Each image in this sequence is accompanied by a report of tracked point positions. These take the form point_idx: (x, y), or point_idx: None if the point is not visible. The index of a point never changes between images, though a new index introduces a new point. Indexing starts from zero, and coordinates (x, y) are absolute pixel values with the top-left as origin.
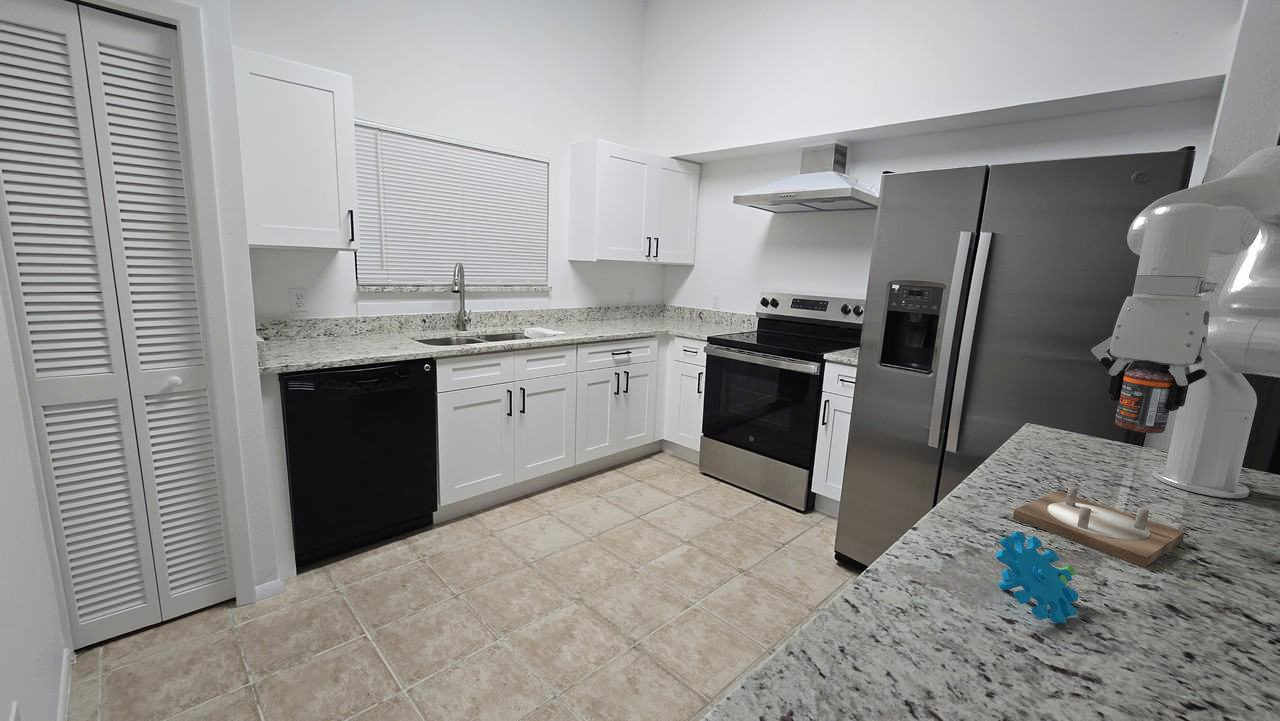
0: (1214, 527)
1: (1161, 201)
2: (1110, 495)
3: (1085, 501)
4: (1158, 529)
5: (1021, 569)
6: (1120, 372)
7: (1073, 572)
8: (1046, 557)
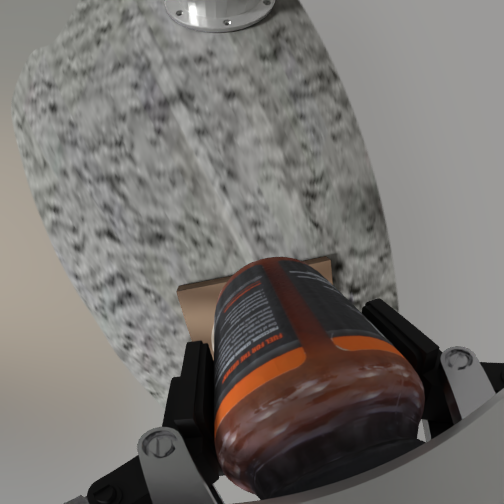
0: (320, 154)
1: None
2: (191, 172)
3: (218, 290)
4: None
5: None
6: (212, 480)
7: None
8: None
